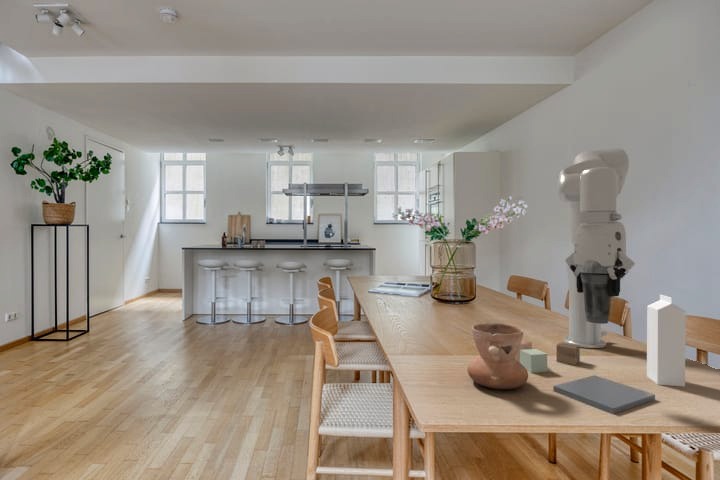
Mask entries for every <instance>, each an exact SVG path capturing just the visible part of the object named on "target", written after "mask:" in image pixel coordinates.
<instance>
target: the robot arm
mask: <svg viewBox="0 0 720 480" xmlns="http://www.w3.org/2000/svg"><path fill="white" fill-rule="evenodd" d="M629 164H630V159H629V155H628V153H627V152H626V151H625V150H624V149H622V148H618V147H617V148H616V147H615V148H603V149H602V148H601V149H593V150H585V151H582V152H580V153H578V154H577V156H576V157H575V158H574V160H573V163H572V165H570V166H567V167H565V168H563V169H561V171H560V172H559V175H558V179H557V195H558V197H559V200H561V201H562V202H564V203H568V204H569V206H570V213H571V214H570V231H571V232H570V235H571V243H572V245H573V246H574V247H573V252H572V254H570V255H569V256H568V257H566V259H565V261H564V262H565V264H566V270H567V271H566V272H567V278H568V279H567V280H568V293H569V294H568V297H569V298H568V300H569V301H568V304H569V305H568V307H569V308H568V327H569V328H568V335H567V336H565V337H564V338H563V342H565V343H571V344H577V345H580V348H584V349H585V348H586V349H602V348H605V347H606V346H607V343H606V341H604V340H603V339H602V337H607V335H608V332H607V331H606V330H602V329H601V325H602V324H599V323H591V322H587V321H586V314H585V305H584V294H583V283H582V280H581V274H580V272H581V267H582V265H583V264H584V263H585V262H586V261H589V260H593V261H596V262H598V263H599V264H600V265H602V266H603V267H605V268H606V269H607V271H608V273H609V275H610V277H611V279H609V280H608V296H610V297H611V298H613V297H619V296H620V293H621V281H622V280H624V279H625V277H626V275H627V274H628V273H629V271H630V270H631V269H632V268H633V267H634V266H635V264H636V263H635V262H634V261H633V260H632V259H631V258H630V257H629V256H628V255H627V236H626V233H627V232H626V229H625V226H624V224H623V223H622V222H621V220H622V218H623V216H622V214H621V213H618V212H617V198H619V195H621V193H622V189H623V187H624V185H625V182H626V178H627V175H628V173H629Z"/></svg>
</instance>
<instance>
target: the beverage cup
mask: <svg viewBox="0 0 720 480" xmlns="http://www.w3.org/2000/svg"><path fill="white" fill-rule="evenodd" d="M580 274H581V280H582V283H583V294H584V305H585V314H586V321H587V322H591V323H599V324H601V325H604V324H609V320H610V319H609V318H610V311H611V301H612V297H610V296H608V280H609V279H611V277H610V275H609V273H608V271H607V269H606V268H605V267H603V266H602V265H600V264H599V263H598V262H596V261H593V260H589V261H586V262H585V263H584V264H583V265H582V267H581V272H580Z"/></svg>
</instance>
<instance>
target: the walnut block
mask: <svg viewBox="0 0 720 480" xmlns="http://www.w3.org/2000/svg"><path fill="white" fill-rule="evenodd" d="M580 352H581V347H580V345H577V344H571V343H566V342H564V341H561V342H559V343H558V344H556V356H555V357H556V359H555V360H556V362H557V363H562V364H566V365H570V366H571V365H572V366H576V365H577V364H579V363H580V361H581V355H580V354H581V353H580Z"/></svg>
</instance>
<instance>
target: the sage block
mask: <svg viewBox="0 0 720 480" xmlns="http://www.w3.org/2000/svg"><path fill="white" fill-rule="evenodd" d="M520 364H522V365H523V366H524V367H525V368H526V370H527V372H529V373H530V374H534V373H545V372H546V373H547V372H548V353H546V352H544V351H542V350H540V349H537V348H532V349H525V350H520Z"/></svg>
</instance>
